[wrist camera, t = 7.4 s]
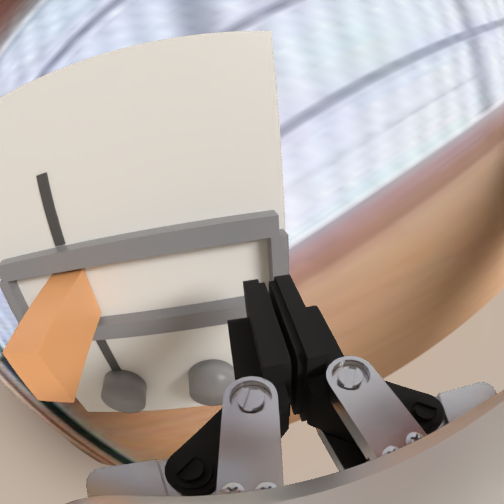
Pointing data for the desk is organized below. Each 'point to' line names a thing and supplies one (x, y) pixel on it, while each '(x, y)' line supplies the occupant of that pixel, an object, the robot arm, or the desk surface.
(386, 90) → the desk surface
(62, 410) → the desk surface
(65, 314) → the block
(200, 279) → the console
